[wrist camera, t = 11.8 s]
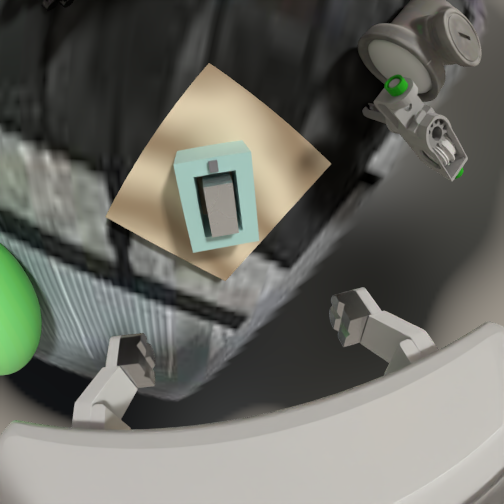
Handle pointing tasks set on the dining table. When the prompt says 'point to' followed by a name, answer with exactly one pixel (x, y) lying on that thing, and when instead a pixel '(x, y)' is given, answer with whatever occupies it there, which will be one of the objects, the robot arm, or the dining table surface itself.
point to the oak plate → (264, 171)
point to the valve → (55, 3)
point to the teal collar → (240, 164)
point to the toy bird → (17, 315)
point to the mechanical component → (418, 126)
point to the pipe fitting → (421, 45)
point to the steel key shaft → (220, 204)
